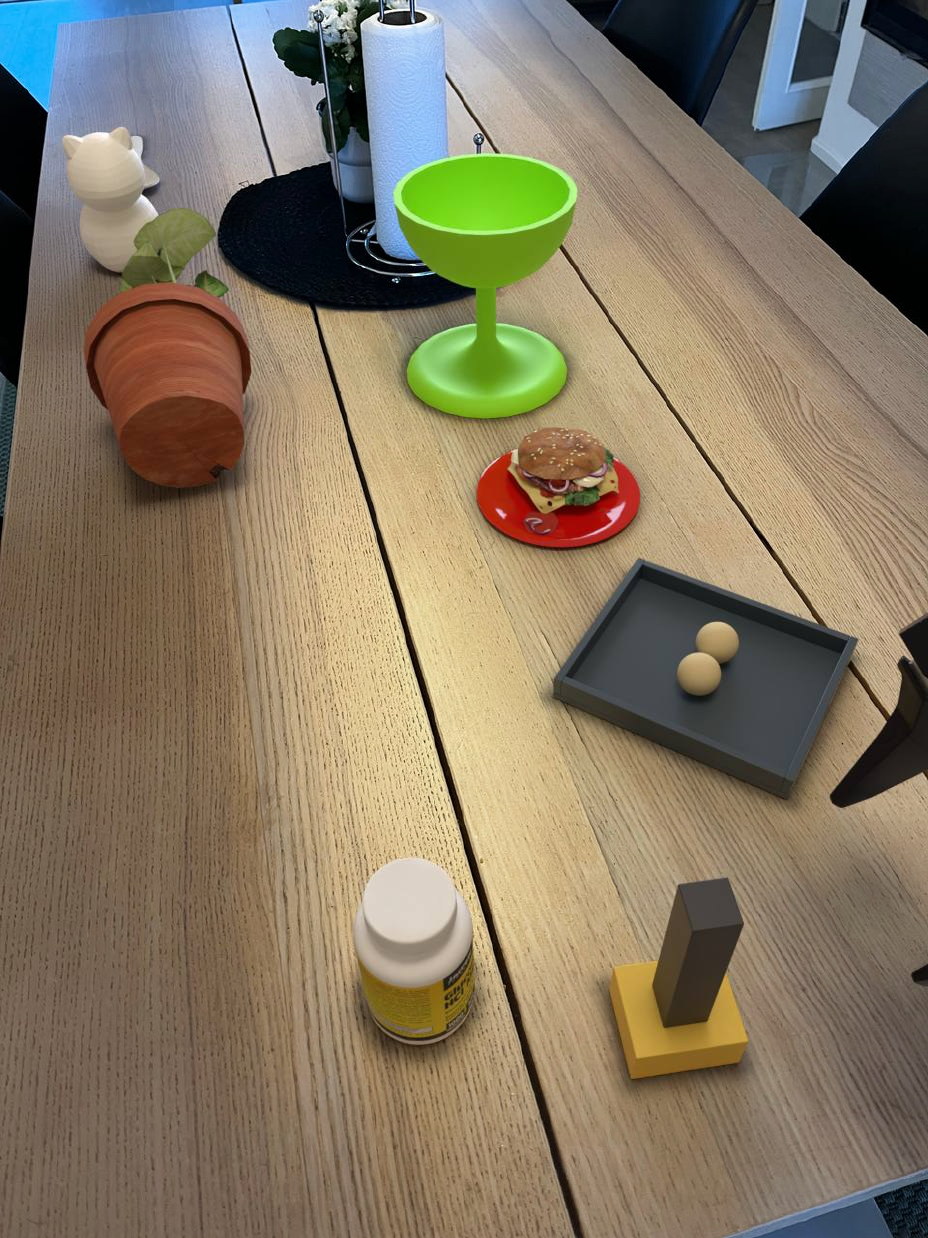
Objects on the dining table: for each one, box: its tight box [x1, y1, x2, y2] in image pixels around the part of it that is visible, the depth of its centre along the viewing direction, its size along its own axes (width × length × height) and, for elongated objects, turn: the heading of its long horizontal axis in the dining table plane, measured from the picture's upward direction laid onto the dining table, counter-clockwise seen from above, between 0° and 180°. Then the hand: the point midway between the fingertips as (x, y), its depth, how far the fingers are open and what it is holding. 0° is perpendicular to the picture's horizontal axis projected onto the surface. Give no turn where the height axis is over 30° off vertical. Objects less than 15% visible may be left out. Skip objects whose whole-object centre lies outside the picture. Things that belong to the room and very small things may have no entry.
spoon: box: [130, 135, 160, 190], centre depth 136 cm, size 4×21×2 cm, turn 17°
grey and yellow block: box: [608, 876, 750, 1080], centre depth 52 cm, size 6×5×14 cm
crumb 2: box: [677, 653, 721, 696], centre depth 71 cm, size 3×3×3 cm
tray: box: [552, 557, 859, 800], centre depth 73 cm, size 17×14×2 cm
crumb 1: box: [696, 622, 739, 664], centre depth 73 cm, size 3×3×3 cm
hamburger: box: [476, 426, 641, 548], centre depth 86 cm, size 14×14×6 cm
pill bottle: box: [352, 857, 476, 1046], centre depth 54 cm, size 6×6×11 cm
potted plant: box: [83, 207, 252, 489], centre depth 95 cm, size 16×15×35 cm
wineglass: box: [392, 152, 579, 420], centre depth 95 cm, size 16×16×18 cm
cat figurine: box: [61, 126, 159, 273], centre depth 114 cm, size 9×12×15 cm
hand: (872, 886), depth 48 cm, fingers open, 9 cm apart
